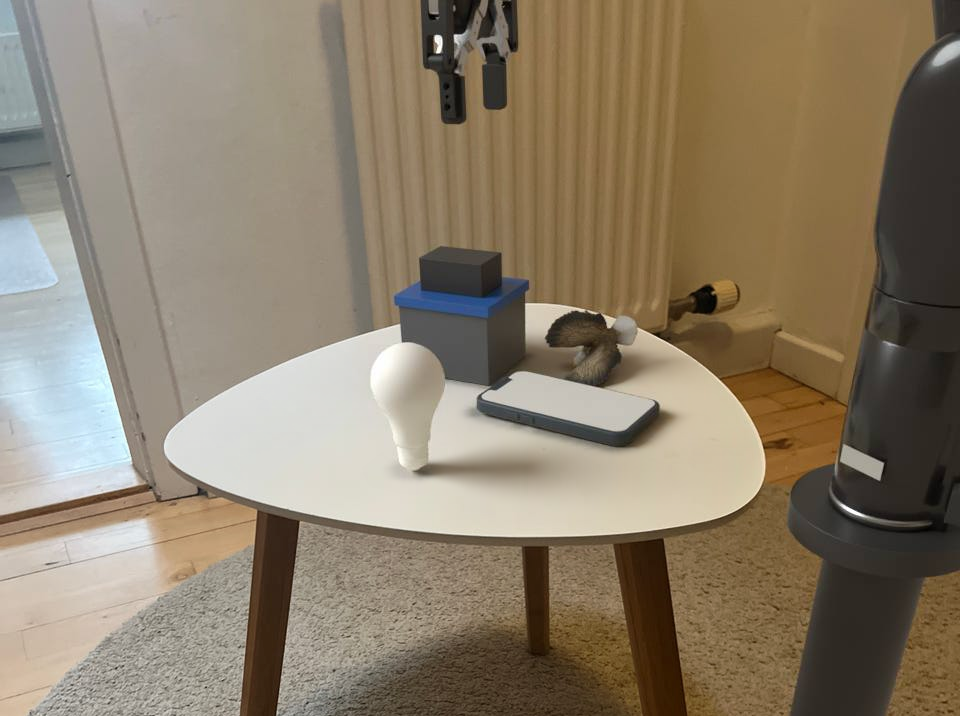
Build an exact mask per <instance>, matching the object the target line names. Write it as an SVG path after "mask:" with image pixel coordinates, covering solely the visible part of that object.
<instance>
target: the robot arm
mask: <svg viewBox="0 0 960 716" xmlns="http://www.w3.org/2000/svg"><path fill="white" fill-rule="evenodd" d="M930 3H931V9H932V21H933V30H934V31H933V32H934V43H933V44H931V45H930V46H929V47H928V48H927V49H926V50H925V51H924V52H923V53H922V54H921V55H920V56H919V58H918V59H917V60H916V62H915V63H914V64H913V66H912V67H911V68H910V70H909V72H908V74H907V76H906V77H905V80H904V82H903V84H902V86H901V89H900V91H899V94H898V97H897V100H896V103H895V106H894V110H893V114H892V118H891V123H890V127H889V132H888V136H887V143H886V148H885V154H884V160H883V166H882V172H881V177H880V183H879V190H878V198H877V203H876V210H875V216H874V223H873V235H872V236H873V238H872V239H873V240H872V241H873V247H874V252H875V268H874V273H873V277H872V282H871V287H870V292H869V297H868V302H867V307H866V310H865V311H866V312H865V316H864V322H863V327H862V332H861V336H860V341H859V346H858V351H857V356H856V360H855V366H854V370H853V375H852V380H851V386H850V391H849V396H848V400H847V403H846V404H847V406H846V410H845V414H844V420H843V423H842V429H841V434H840V440H839V445H838V450H837V454H836V460H835V463H836V464H835V463H834V464H835V468H834V471H833V476H832V481H831V483H830V487H829V492H828V501H829V503H830V505H831V506H832V508H833V509H834V510H835V511H836V512H838V513H839V514H840V515H842V516H843V517H845V518H847V519H849V520H850V521H853V522H855V523H857V524H860V525H863V526H866V527H870V528H873V529H878V530H883V531H890V532H921V531H927V530H932V531H938V532H946V531H947V527H948V524H953V525H958V526H960V0H931V2H930ZM518 17H519V16H518V0H420V21H421V22H420V25H421V28H420V29H421V52H422V66H423V68H424V70H431V71H432V72H433V73H434V75H435V76H438V87H439V105H440V119H441V122H442V123H443V124H445V125H462V124H464V123H465V122H466V121H467V97H466V96H467V95H466V76H465V75H464V73H465V69H466V65H467V61H468V57H469V54H470V53H471V52H473V51H474V50H475V48H476V46H477V48H478V51H479V54H480V57H481V60H482V61H483V64H481V75H482V76H481V77H482V78H481V79H482V80H481V81H482V105H483V108H484V109H486V110H489V111H490V110H492V111H501V110H505V108H507V106H508V78H507V77H508V76H507V70H508V69H507V63H509V62H510V61H511V57H512V56H511V54H512V53H517V52H518V50H519V21H518V19H519V18H518ZM434 43H436V45H437V48H436V52H435V44H434Z"/></svg>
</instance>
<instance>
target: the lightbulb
mask: <svg viewBox="0 0 960 716" xmlns="http://www.w3.org/2000/svg"><path fill="white" fill-rule="evenodd" d="M369 383H370V384H369V385H370V390H371V393H372V396H373V397H374V399H375V401H376V404H378V406H379V408H380V409H381V411H382V412H383V414H384V415H385V416H386V418H387V420H388V422H389V425H390V429H391V432H392V438H393V441H394V443H395V444H396V447H397V448H396V450H397V455H398V462H399V464H400V465H401V466H402V467H404V468H406V469H408V470H410V471H412V472H413V471H418V470H420V469H421V468H423V467H424V466H426V465H427V464H428V462H429V442H430V440H431V428H432V421H433V418H434V415H435V412H436V410H437V409H438V406H439V404H440V402H441V399H442V397H443V395H444V392H445V387H446V378H445V375H444V371H443V368H442V365H441V363H440V361H439V360H438V359H437V357H436V356H435V355H434V354H433V353H432V352H431V351H430V350H429V349H427V348H425V347H424V346H421V345H419V344H415V343H410V342H405V343H402V342H399V343H396V344H395V343H394V344H392V345H391V346H388V347H387V348H386V349H384V350H383V351H382V352H381V353H380V354H379V355H378V357H377V358H376V359H375V361H374V363H373V365H372V367H371V371H370V380H369Z"/></svg>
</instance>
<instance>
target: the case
mask: <svg viewBox="0 0 960 716" xmlns="http://www.w3.org/2000/svg"><path fill="white" fill-rule="evenodd" d="M502 255H503V254H502V252H500V251H491V250H482V249H481V250H480V249H474V248H473V249H472V248H464V247H463V248H461V247H453V246H444V245H440V246H438V247H436V248H435V249H434V248H433V250H431V251H429V252H427V253H425V254H423V255H421V256H419V257H418V268H419V281H420V283H421V290H424V291H432V292H440V293H448V294H456V295H463V296H471V297H479V298H483V297H484V296H486V295H487V294H489V293H490V292H492V291H493V290H495V289H496V288H498V287H499V286H501V285H502V277H503V263H502V262H503V259H502V257H503V256H502Z"/></svg>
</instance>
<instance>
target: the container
mask: <svg viewBox="0 0 960 716" xmlns="http://www.w3.org/2000/svg"><path fill="white" fill-rule="evenodd" d="M528 291H530V279H524V278H516V277H509V276H502V285H501V286H499V287H498V288H496V289H495V290H493V291H492V292H490V293H489V294H487V295H486V296H484V297H483V298H479V297H471V296H463V295H456V294H448V293H440V292H432V291H424V290H421V283H420V280H418V281H417V282H415V283H413V284H412V285H409V286H408V287H406V288H405V289H403V290H401V291H399V292H397V293H396V294H394V295H393V302H394V306H396V307H398V313H399V326H400V327H399V328H400V338H401V339H400V340H401V343H405V342H410V343H415V344H419V345H421V346H424V347H425V348H427V349H429V350H430V351H431V352H432V353H433V354H434V355H435V356H436V357H437V359H438V360H439V361H440V363H441V365H442V368H443V371H444V375H445V380H453V381H460V382H463V383H464V382H465V383H471V384H477V385H482V386H488V387H489V386H490V385H492V384H493V383H495V381H496V380H498V379H499V378H500V377H501V376H503V375H504V374H505V373H507V371H509V370H510V369H512V368H513V367H514V366H515V365H516V364H517V363H518V362H519V361H521V360H522V359H523V358H525V357H526V292H528Z"/></svg>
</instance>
